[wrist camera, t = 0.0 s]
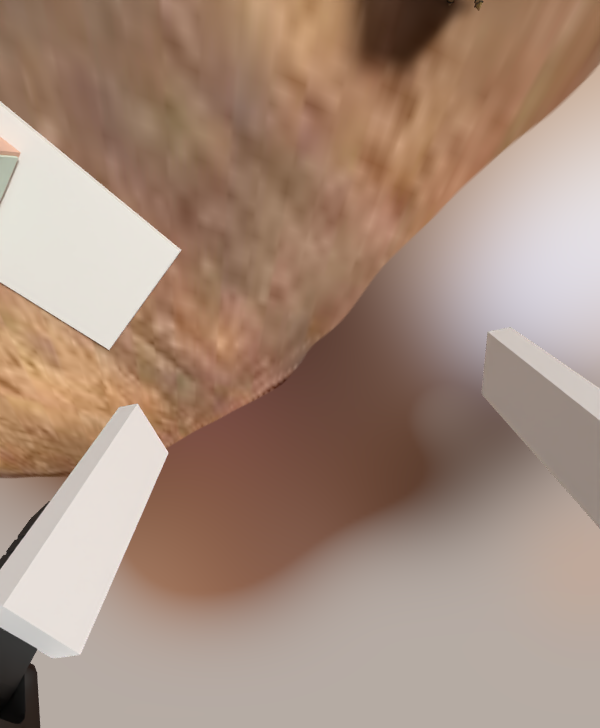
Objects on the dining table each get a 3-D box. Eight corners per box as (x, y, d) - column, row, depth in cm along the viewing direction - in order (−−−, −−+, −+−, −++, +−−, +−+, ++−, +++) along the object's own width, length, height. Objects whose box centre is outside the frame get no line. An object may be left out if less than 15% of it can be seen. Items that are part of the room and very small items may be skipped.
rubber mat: (-74, 231, 34) (-79, 232, 33) (-24, 81, 28) (-30, 80, 27) (111, 347, 42) (109, 349, 41) (181, 250, 36) (180, 251, 35)
